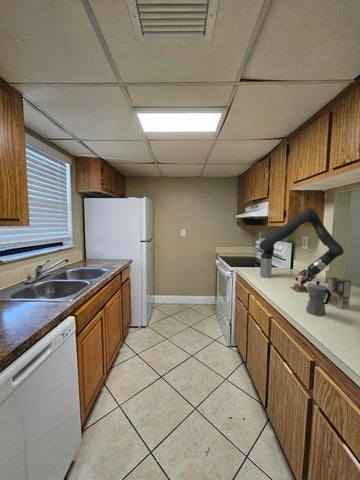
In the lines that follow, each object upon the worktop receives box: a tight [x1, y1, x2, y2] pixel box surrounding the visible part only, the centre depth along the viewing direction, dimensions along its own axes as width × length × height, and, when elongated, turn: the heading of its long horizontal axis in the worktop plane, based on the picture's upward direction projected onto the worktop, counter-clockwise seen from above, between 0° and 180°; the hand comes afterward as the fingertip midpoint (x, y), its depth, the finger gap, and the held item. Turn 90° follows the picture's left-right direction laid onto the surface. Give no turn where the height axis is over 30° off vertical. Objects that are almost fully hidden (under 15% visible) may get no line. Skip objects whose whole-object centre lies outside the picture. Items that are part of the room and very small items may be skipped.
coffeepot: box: [305, 280, 331, 317], centre depth 112 cm, size 15×9×18 cm, turn 6°
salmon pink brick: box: [296, 275, 305, 287], centre depth 148 cm, size 5×2×10 cm, turn 173°
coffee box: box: [327, 277, 352, 310], centre depth 123 cm, size 9×6×16 cm
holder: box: [289, 282, 308, 294], centre depth 148 cm, size 12×10×5 cm
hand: (298, 282), depth 148 cm, fingers open, 8 cm apart
